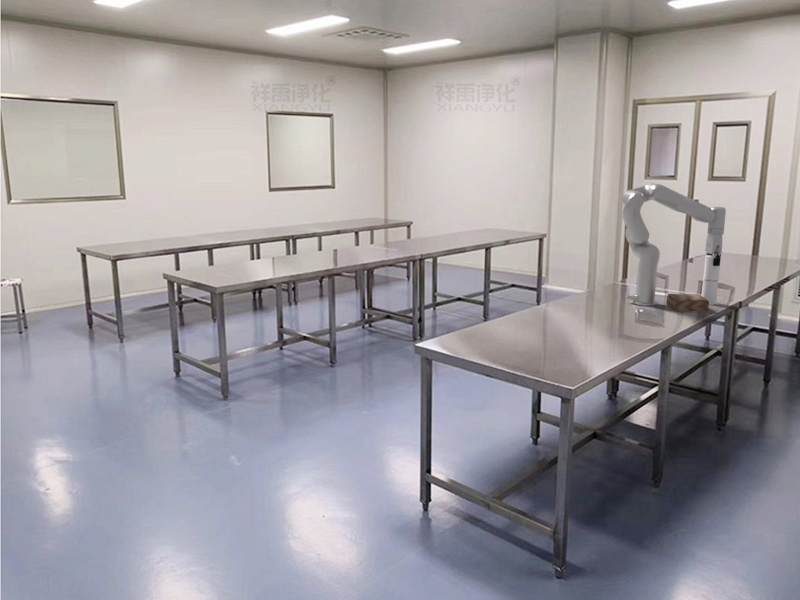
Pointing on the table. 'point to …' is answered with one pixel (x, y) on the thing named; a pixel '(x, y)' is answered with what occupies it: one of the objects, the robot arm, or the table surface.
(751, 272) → the table surface
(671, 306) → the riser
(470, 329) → the table surface
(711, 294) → the cylindrical container
